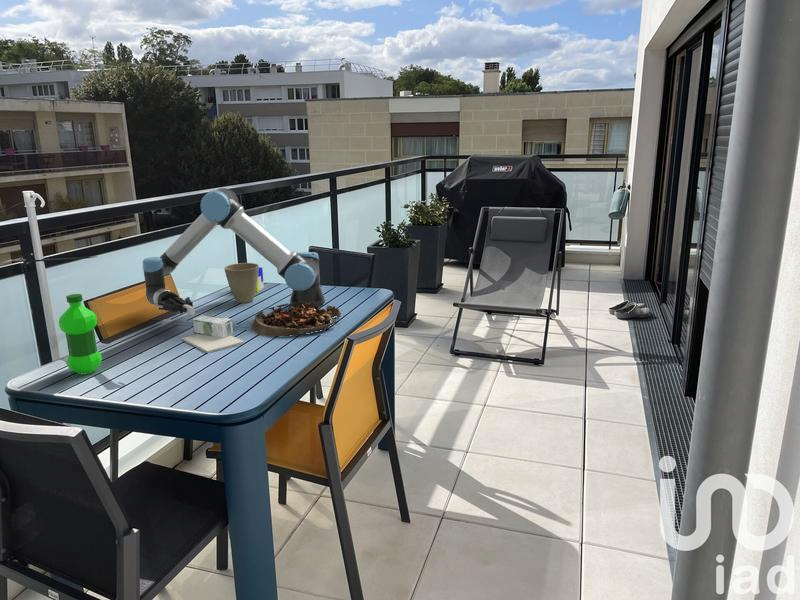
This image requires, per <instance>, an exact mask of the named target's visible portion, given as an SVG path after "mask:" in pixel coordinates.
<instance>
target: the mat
mask: <svg viewBox="0 0 800 600" xmlns="http://www.w3.org/2000/svg"><path fill="white" fill-rule="evenodd" d="M181 339H182V341H183V342H185V343H187V344H189V345H191V346H192V347H195V348H197V349H199V350H201V351H202V352H204V353H207V354H211V353H215V352H218V351H221V350H225V349H228V348H232V347H236V346H237V347H238V346H240V345H244V344H245V341H244V340H242V339H240V338H238V337H236V336H233V335H232V334H230V335H228V336H226V337H224V338H219V337H213V336H207V335H201V334H193V335H189V336H185V337H182V338H181Z"/></svg>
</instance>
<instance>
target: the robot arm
mask: <svg viewBox="0 0 800 600" xmlns="http://www.w3.org/2000/svg"><path fill="white" fill-rule="evenodd" d="M244 210H245V209H244V206H243V205H241V203H239V198H238V196H237V195H236V193H235V192H234V191H233V190H232V189H228V188H225V187H222V188H218V189H214V190H210V191H208V192H207V193H206V194H204V196H203V197H202V198H201V201H200V211H201V214H200V215H199V216H198V217H197V218H196V219H195V220H194V221H192V223H191V224H190V225H189V226H187V228H186V229H185V230H184V232H182V234H181V235H180V236H179V237H178V238H177V239H176V240H175V241H174V242H173V243H172V244H171V245H170V246H169V247H168V248H167V249H166V250H165V252H163V253H162V254H161V255H160V256H151V257H145V258H144V259H143V260H142V270H143V275H144V283H145V284H144V285H145V288H146V296H147V299H148V301H149V302H150V303H149V302H148V301H147V302H148V303H149V304H151V305H154V306H156V307H158V310H161V311H167V312H172V313H178V312H179V314H181V315H182V314H184V313H185V314H188V315H190V316H193V315H196V313H195V307H194V305H193V301H192V300H191V298H190V297H189V296H186V298H182V297H179V296H178V294H177V293H175V292H173V291H171V290H168V289H167V287H166V281H165V279H166V278H165V277H166V276H167V275H169V274H171V273H173V272H174V271H175V270H176V269H177V267H178V266H179V265H180V263H181V262H182V261H183V260H184V259H185V258H186V257H187V256H188V255H189V254H191V252H192V251H193V250H194V249H195V248H197V246H198V245H199V244H200V243H201V241H203V239H205V238H206V237H207V236H208V235H209V234H210V232H211V231H213V229H214V228H216V227H217V225H219V226H220V227H221V228H222V229H224V230H228V229H229V230H231V231H232V232H233V233H234V234H236V235H237V236H238V237H239V238H240V239H241V240H243V241H244V242H245V243H246V244H247V245H249V246H250V247H251V248H252V249H253V250H255V251H256V252H257V253H258V254H259V255H260V256H262V257H263V258H265V260H267V261H268V262H269V263H270V264H271V265H273V266H274V267H275V268H276V270H277V274H278V275H279V276H280V277H281V278H283V280H284V281H285V284H286V285H287V287H289V288H290V289H292V291H291V295H290V299H289V306H290V308H291V307H296V306H297V305H299V303H301V302H310V305H311V306H312V309H313V308H314V307H315V306H314V305H316V304H318V303H322V306H324V305H325V304H326V299H325V295H324V293H323V290H322V288H321V277H320V262H319V261H320V258H319V254H318V252H315V251H312V252H311V251H308V252H307V251H304V252H303V251H301V252H297V251H290V250H289V249H288V248H287V247H285V246H284V245H283V244H282V243H281V242H280V241H279V240H277V239H276V238H275V237H274V236H272V235H271V234H270V233H269V232H268V231H267V230H265V229H264V228H263V227H262V226H261V225H259V223H257V222H256V221H255V220H254V219H252V218H251V217H250V216H249V215H247V213H245V211H244ZM324 303H325V304H324ZM323 304H324V305H323ZM322 306H321V305H320V307H322ZM301 307H302V306H301ZM304 307H305V305H304Z"/></svg>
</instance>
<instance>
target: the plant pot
mask: <svg viewBox="0 0 800 600" xmlns="http://www.w3.org/2000/svg"><path fill="white" fill-rule="evenodd" d="M259 267H260V265H259V264H258V263H253V262H240V263H232V264H228V265H226V266H224V267H223V268H224V273H225V277H226V281H227V283H228V285H229V289H230V291H231V293H232V296H233V298H234V300H235V301H236V303H237V304H238V303H239V304H248V303H251V302H253V301H254V299H255V296H256V293H257V292H256V287H257V281H258V270H259Z"/></svg>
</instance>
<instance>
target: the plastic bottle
mask: <svg viewBox="0 0 800 600" xmlns="http://www.w3.org/2000/svg"><path fill="white" fill-rule="evenodd" d="M65 297H66V298H65V299H66V303H68V304H69V307H68V308H67V309H66V310H65V311H64V312H63V313H62V314H61V316H60V317H59V318H58V326H59V328H60V331H62V332H63V333H65V337H66V338H65V339H66V344H67V350H68V356H67V360H66V365H67V367H68V368H69V370H71V371H73V372H75V373H76V374H78V373H79V374H78V375H85V374H84V373H89V374H91V373H90V372H92V373H94V372H95V371H96V370H97V369H98V368H99V367H100V364H101V363H102V360H103V357H102V354H101V352H100V351H99V350H98V347H97V340H96V335H95V327H96V326H97V324H98V318H97V314H96V313H95V312H94V311H92V310H90V308H87V307H85V306H84V305H82V301H83V300H84V299H83V295H82V293H73V294H69V295H66V296H65ZM93 371H94V372H93ZM81 373H83V374H81Z"/></svg>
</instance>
